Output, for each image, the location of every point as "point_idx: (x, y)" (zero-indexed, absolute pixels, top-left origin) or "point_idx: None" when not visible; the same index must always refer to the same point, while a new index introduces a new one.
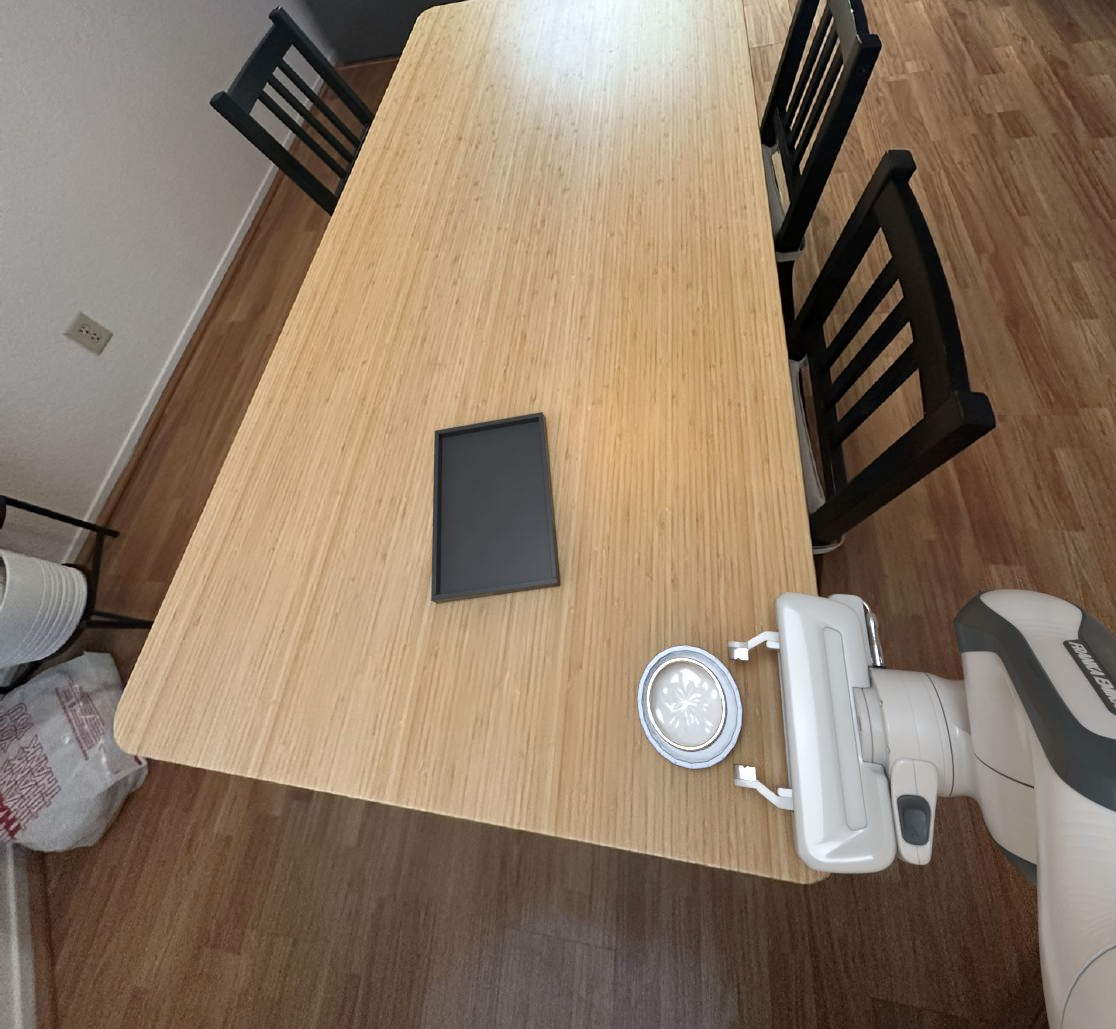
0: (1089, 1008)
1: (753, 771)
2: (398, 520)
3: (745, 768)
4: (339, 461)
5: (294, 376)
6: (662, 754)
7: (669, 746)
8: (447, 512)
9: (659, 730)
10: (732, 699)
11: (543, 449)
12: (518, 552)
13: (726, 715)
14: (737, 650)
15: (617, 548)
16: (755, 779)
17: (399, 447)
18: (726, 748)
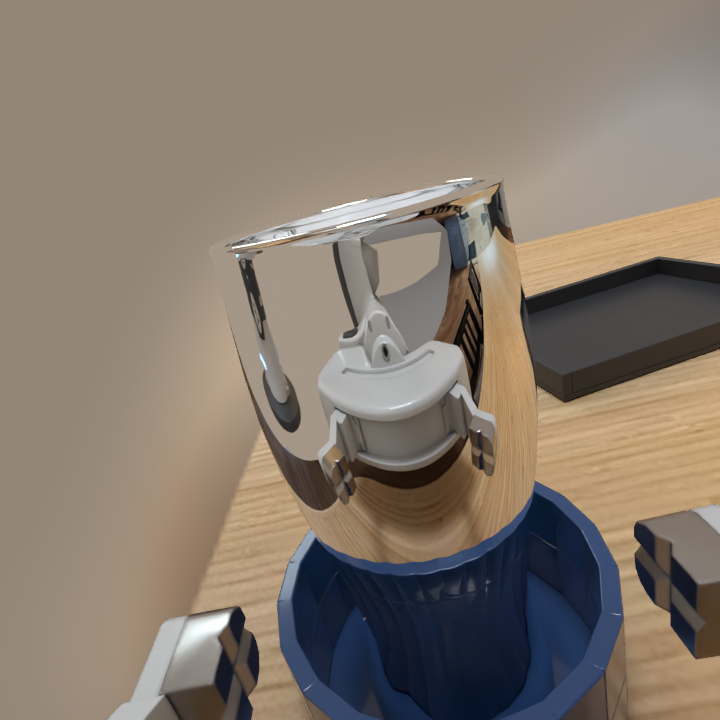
0: None
1: (198, 677)
2: (530, 295)
3: (215, 639)
4: (555, 261)
5: (608, 227)
6: (308, 534)
7: (351, 625)
8: (569, 305)
9: (273, 223)
10: None
11: None
12: (575, 353)
13: (349, 339)
14: (702, 531)
15: (715, 441)
16: (165, 692)
17: (609, 269)
18: (335, 697)
